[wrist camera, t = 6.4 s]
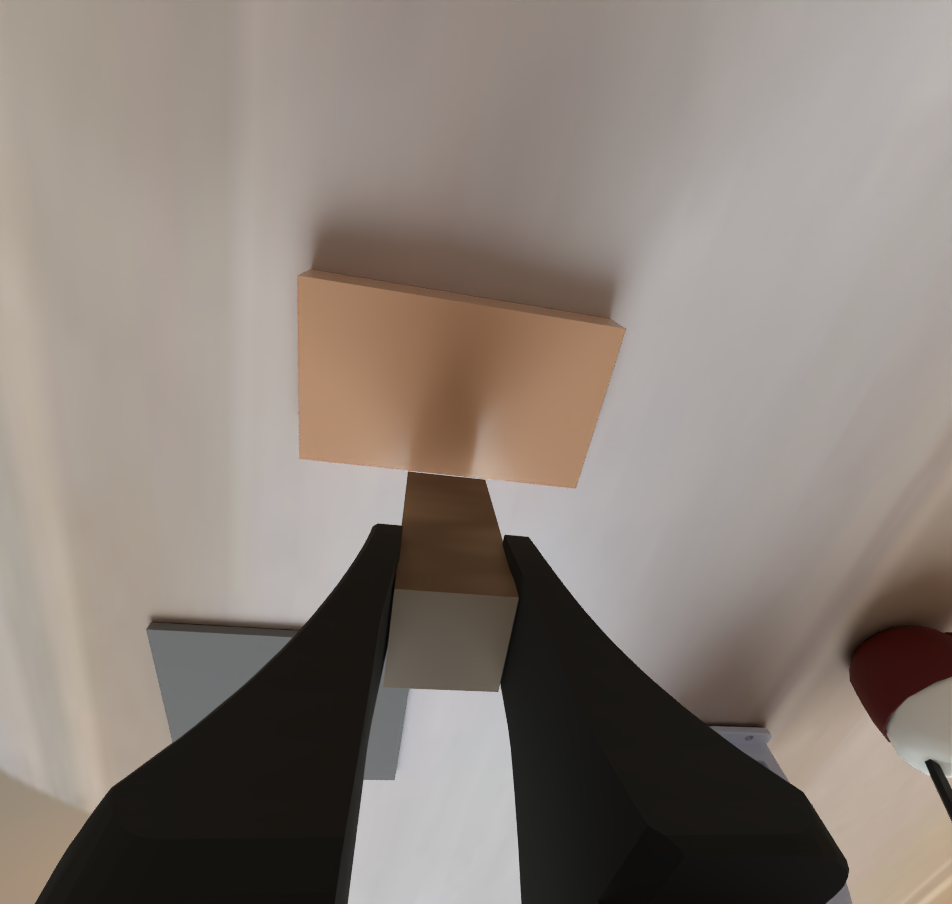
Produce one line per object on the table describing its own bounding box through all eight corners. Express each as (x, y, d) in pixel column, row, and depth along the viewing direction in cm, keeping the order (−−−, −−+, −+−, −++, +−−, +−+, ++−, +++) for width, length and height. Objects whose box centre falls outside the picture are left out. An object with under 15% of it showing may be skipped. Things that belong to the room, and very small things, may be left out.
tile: (562, 462, 19) (605, 315, 16) (575, 488, 17) (625, 328, 14) (313, 433, 17) (314, 267, 15) (299, 458, 16) (297, 275, 13)
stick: (485, 479, 15) (519, 597, 9) (473, 546, 16) (497, 691, 10) (408, 471, 14) (394, 589, 9) (400, 540, 15) (383, 687, 10)
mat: (415, 637, 22) (415, 643, 22) (395, 772, 28) (394, 779, 27) (151, 622, 21) (146, 629, 20) (184, 769, 26) (180, 777, 26)
